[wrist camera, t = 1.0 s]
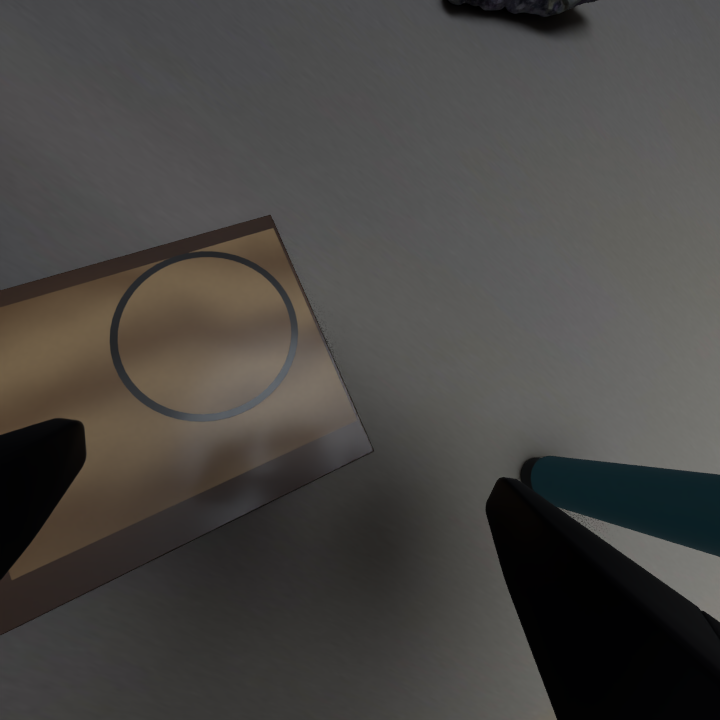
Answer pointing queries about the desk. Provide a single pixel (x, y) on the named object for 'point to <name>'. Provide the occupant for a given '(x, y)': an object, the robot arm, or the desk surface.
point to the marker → (634, 497)
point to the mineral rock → (526, 5)
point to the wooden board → (168, 402)
